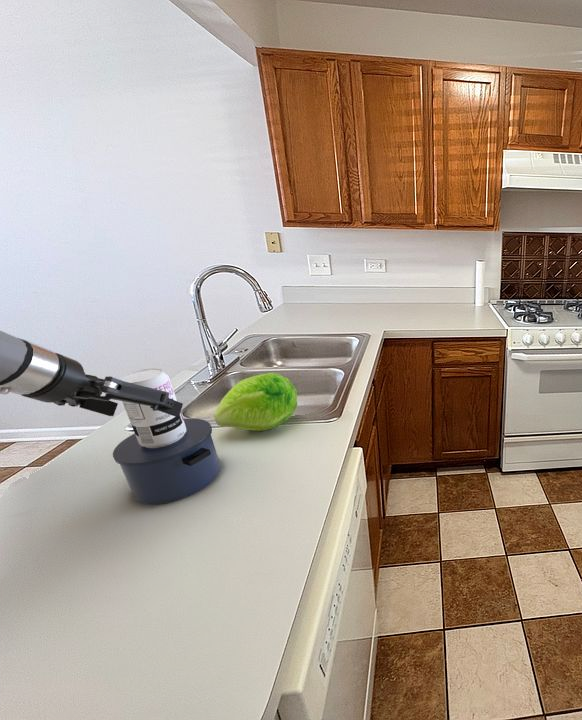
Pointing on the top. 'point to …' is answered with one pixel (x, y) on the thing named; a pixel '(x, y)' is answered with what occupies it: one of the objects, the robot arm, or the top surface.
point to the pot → (170, 465)
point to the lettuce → (257, 403)
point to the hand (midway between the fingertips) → (146, 409)
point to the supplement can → (151, 424)
